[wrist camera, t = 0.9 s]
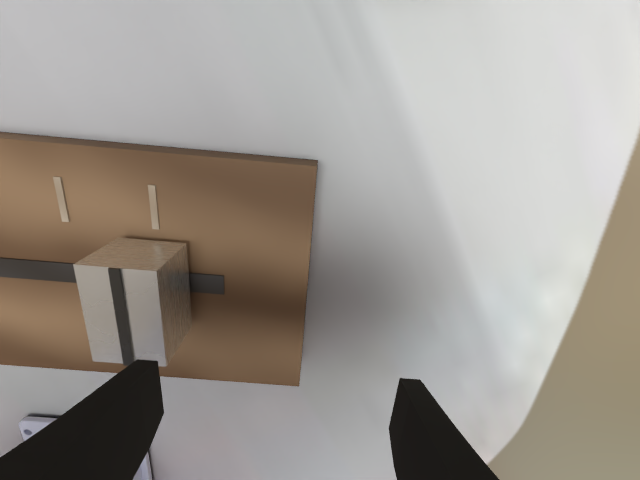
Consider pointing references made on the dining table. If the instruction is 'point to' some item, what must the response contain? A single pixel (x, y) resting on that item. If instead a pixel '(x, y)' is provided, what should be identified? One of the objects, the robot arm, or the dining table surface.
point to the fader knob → (135, 300)
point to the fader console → (159, 225)
